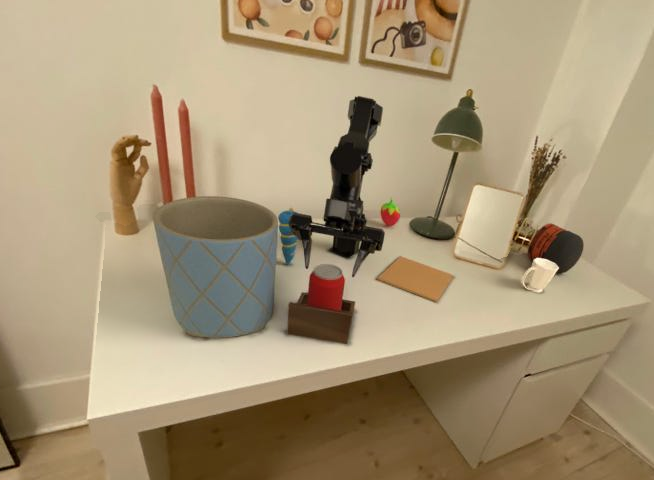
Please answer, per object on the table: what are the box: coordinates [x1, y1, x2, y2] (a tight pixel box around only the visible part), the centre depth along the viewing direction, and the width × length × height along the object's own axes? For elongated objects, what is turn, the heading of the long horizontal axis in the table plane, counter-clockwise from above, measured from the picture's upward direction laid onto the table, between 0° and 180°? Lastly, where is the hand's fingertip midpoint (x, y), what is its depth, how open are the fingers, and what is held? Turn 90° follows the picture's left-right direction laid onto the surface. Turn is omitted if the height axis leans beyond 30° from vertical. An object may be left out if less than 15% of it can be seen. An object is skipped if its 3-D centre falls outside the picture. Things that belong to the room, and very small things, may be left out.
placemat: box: [377, 256, 454, 303], centre depth 100 cm, size 16×16×1 cm
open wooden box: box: [287, 291, 356, 345], centre depth 75 cm, size 12×12×7 cm
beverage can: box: [307, 263, 346, 311], centre depth 74 cm, size 7×7×12 cm
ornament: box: [277, 206, 299, 266], centre depth 89 cm, size 5×5×15 cm
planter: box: [152, 195, 279, 339], centre depth 68 cm, size 19×19×20 cm
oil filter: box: [527, 222, 585, 275], centre depth 118 cm, size 13×12×13 cm
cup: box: [520, 258, 559, 293], centre depth 104 cm, size 7×10×8 cm
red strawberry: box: [380, 196, 401, 227], centre depth 123 cm, size 6×7×10 cm
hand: (329, 272), depth 74 cm, fingers open, 9 cm apart
